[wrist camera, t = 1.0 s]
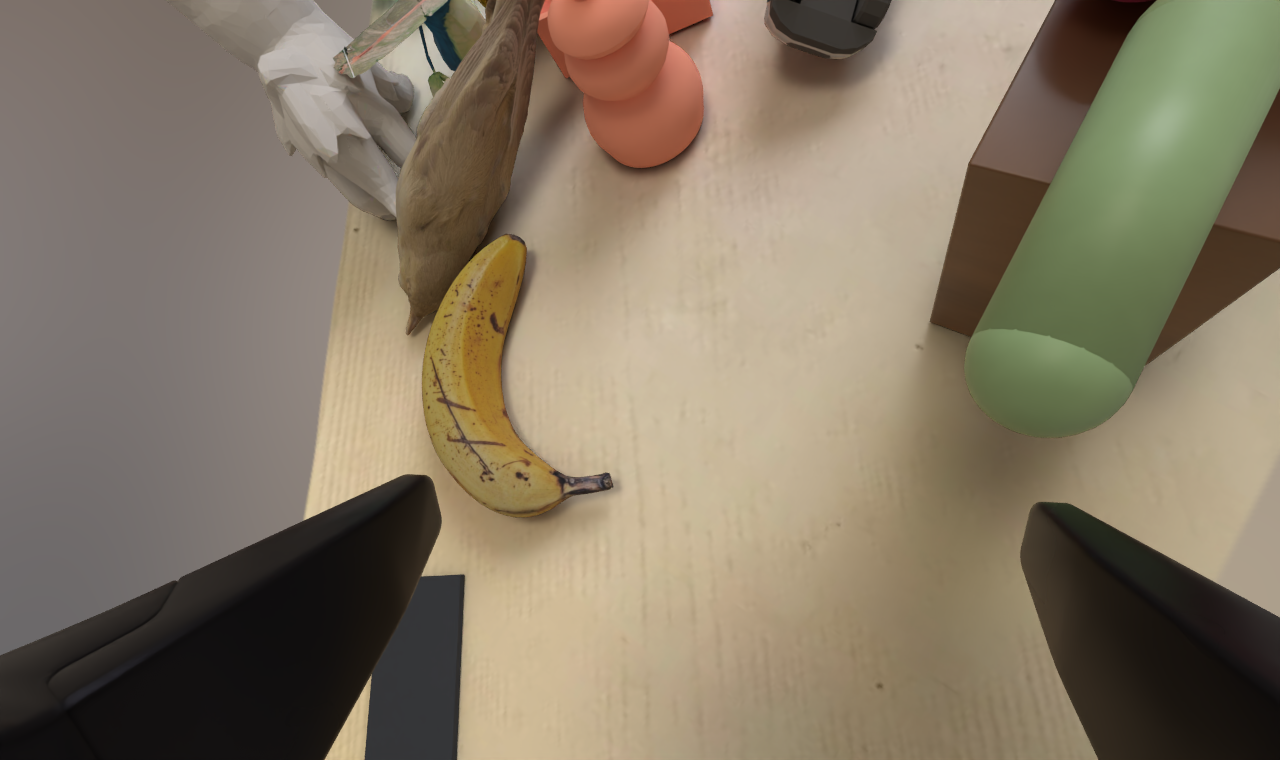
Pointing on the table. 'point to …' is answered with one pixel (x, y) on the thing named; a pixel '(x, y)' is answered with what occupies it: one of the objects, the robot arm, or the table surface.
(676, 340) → the table surface
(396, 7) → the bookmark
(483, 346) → the fruit
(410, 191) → the sculpture
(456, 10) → the toy figurine
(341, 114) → the toy
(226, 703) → the robot arm
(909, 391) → the table surface
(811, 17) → the toy car
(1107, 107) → the green pink knobbed rod
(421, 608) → the placemat
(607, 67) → the pottery
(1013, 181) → the block
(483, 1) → the decorative item
